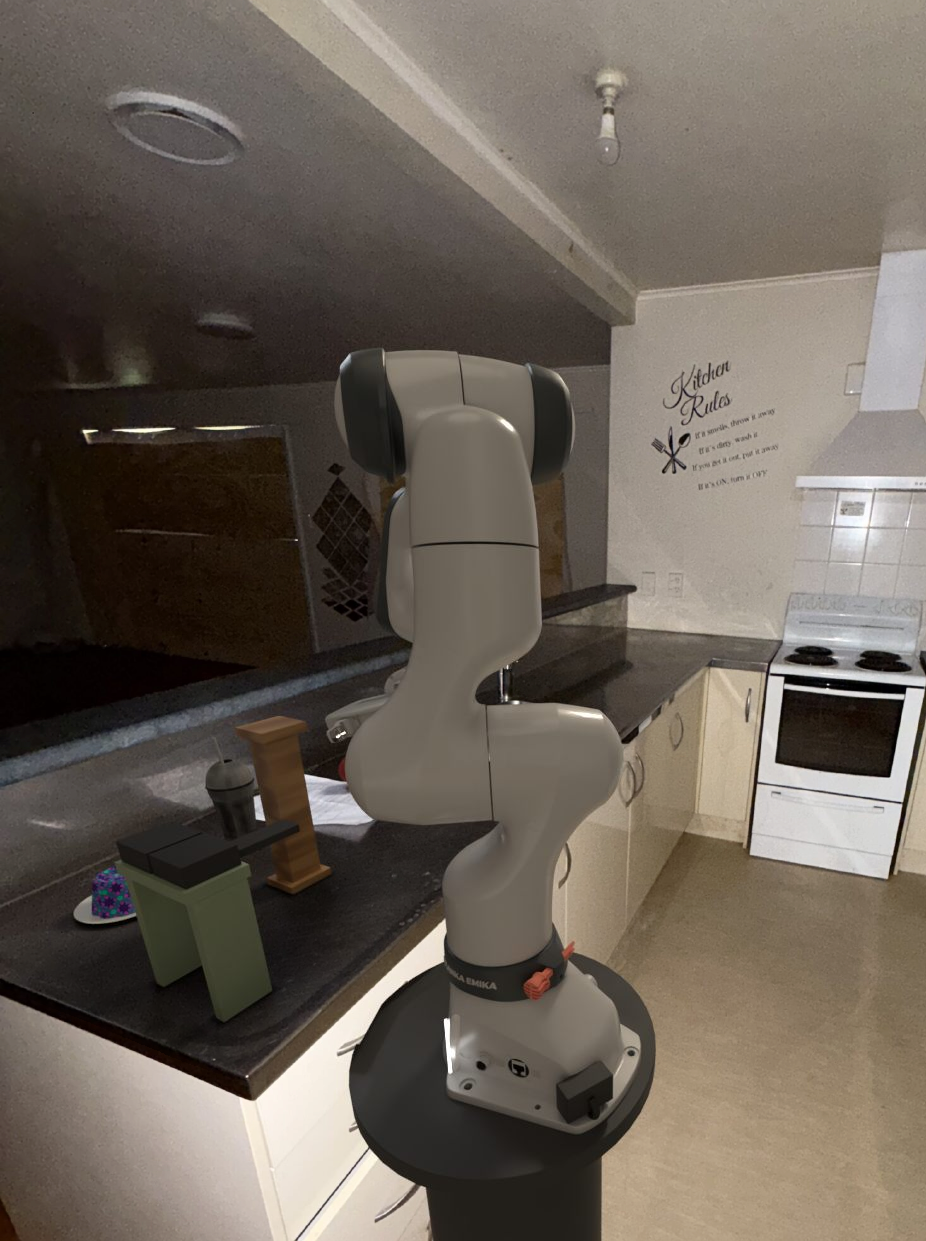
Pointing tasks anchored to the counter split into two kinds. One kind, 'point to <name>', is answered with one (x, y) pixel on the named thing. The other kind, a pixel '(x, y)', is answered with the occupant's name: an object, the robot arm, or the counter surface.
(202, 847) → the black pad
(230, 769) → the beverage cup
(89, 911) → the pudding
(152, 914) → the low bench
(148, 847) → the black block
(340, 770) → the onion
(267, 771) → the tall stand
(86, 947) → the counter surface
